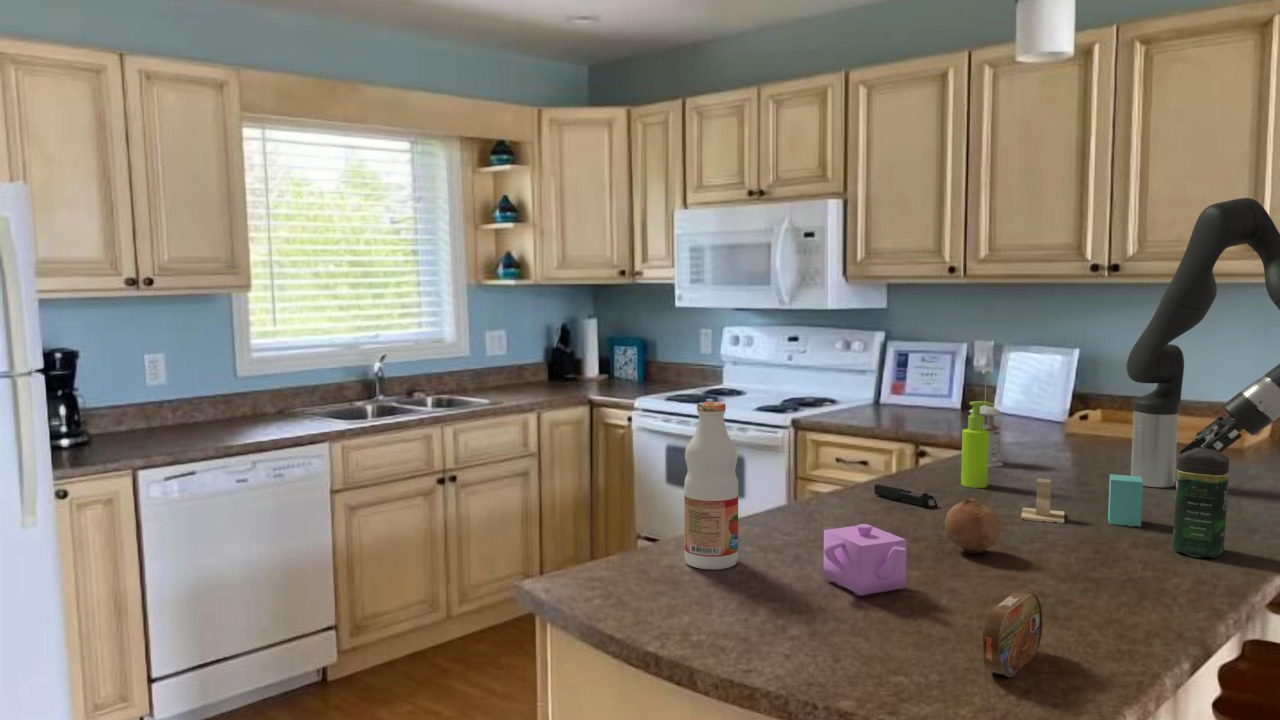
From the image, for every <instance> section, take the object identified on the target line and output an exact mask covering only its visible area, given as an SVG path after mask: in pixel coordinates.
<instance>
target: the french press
mask: <svg viewBox="0 0 1280 720" xmlns="http://www.w3.org/2000/svg"><path fill="white" fill-rule="evenodd" d="M982 374H983V375H985V378H984V379H985V382H984V384H985V385H984V402H987V401H986V400H987V399H986V398H987V375H990V374H991V371H990V370H989V369H988V368H986V369H983V370H982ZM968 411H969V414H970V415H971V414H972V408H971V409H970V410H968ZM980 414H981V416H983V417H984V420H983V429H984V430H987V431H989V443H988V468H989V467H990V468H994V467H1001V466H1003V465H1004V463H1003V462H1002V460H1001V459H1000V457H1001V455H1000V453H1001V433H1000V432H998V430H999V429H1000V427H999V426H997V425H990V417H993V416H995V417H996V416H1001V414H1002V411H1000V410H999V409H997V408H996V407H994V406H989V405H980ZM986 416H987V419H986ZM986 421H987V424H986Z"/></svg>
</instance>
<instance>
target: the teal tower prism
mask: <svg viewBox="0 0 1280 720" xmlns="http://www.w3.org/2000/svg"><path fill="white" fill-rule="evenodd" d="M1108 484H1109V487H1108V488H1109V489H1108V509H1107V513H1108V514H1107V520H1108V524H1109V525H1113V524H1114V525H1115V526H1124V525H1125V527H1127V526H1128V527H1134V526H1138V527H1137V528H1141V527H1142V514H1143V512H1142V510H1143V493H1144V492H1143V489H1144V486H1143V481H1142V478H1141V477H1139V476H1131V475H1127V474H1126V475H1125V474H1122V475H1121V474H1112V473H1110V474H1109V483H1108ZM1126 525H1127V526H1126Z"/></svg>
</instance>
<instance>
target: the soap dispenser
mask: <svg viewBox="0 0 1280 720" xmlns="http://www.w3.org/2000/svg"><path fill="white" fill-rule="evenodd" d="M969 405H970V406H971V407H972V408H971V409H972V414H971V413H970V414H969V415H968V417H967V419H968V420H967V428H964V429H962V431H961V432H962V433H961V434H962V435H961V436H962V437H961V467H960V469H961V470H960V485H961V486H962V485H963V486H962V487H966V488H971V487H972V488H974V489H983V488H986V487H988V474H989V473H988V472H989V471H988V470H989V469H988V468H989V467H988V443H989V431H987V430H984V429H983V424H984V415H983V416H982V415H981V414H980V406H983V405H987V406H990V407H994V406H995V403H993V402H990V401H986V402H985V400H984V401H983V400H980V401H978V400H977V401H969Z"/></svg>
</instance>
